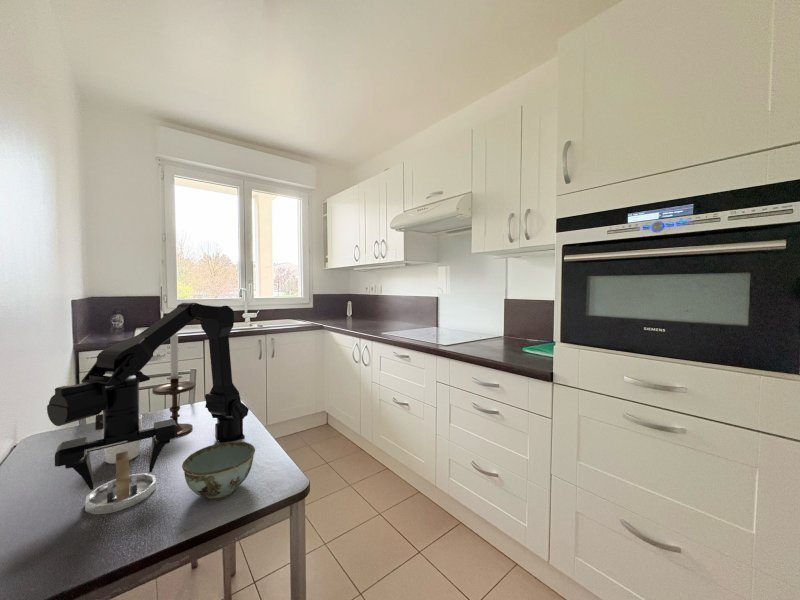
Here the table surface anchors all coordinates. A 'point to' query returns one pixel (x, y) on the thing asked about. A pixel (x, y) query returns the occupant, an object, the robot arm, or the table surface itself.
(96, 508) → the tin
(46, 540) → the table surface
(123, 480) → the wooden plank
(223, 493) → the bowl
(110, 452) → the white cup
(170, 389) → the candlestick
